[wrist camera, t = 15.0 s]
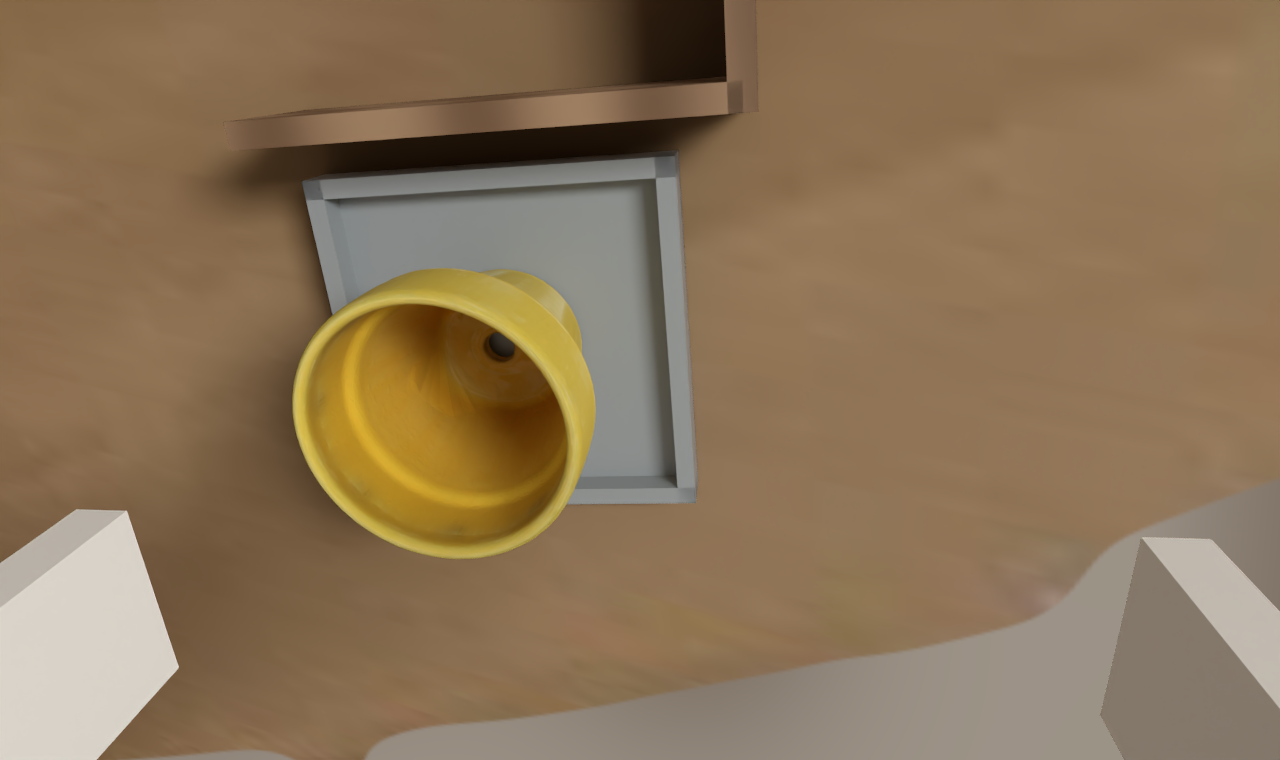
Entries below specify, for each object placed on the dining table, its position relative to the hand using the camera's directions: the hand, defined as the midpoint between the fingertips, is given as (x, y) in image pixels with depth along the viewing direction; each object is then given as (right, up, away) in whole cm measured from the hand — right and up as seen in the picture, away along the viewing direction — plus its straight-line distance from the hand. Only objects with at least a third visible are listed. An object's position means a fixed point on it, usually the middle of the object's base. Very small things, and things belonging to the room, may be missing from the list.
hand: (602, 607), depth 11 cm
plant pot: (-5, +5, +26) cm, 27 cm away
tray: (-5, +5, +27) cm, 27 cm away
